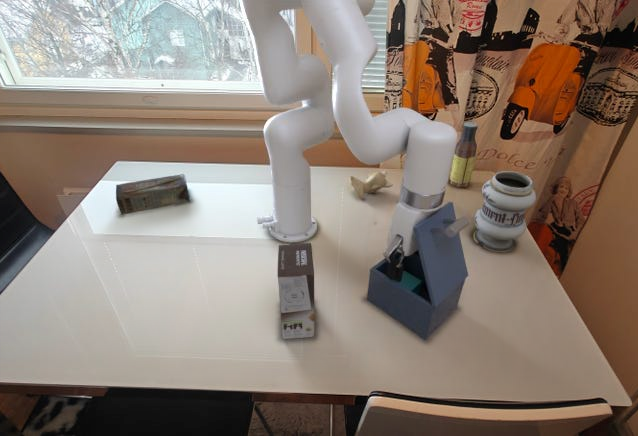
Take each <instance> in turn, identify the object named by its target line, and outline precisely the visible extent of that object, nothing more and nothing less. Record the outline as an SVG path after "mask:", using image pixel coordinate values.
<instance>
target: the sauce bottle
mask: <svg viewBox="0 0 638 436" xmlns="http://www.w3.org/2000/svg"><path fill="white" fill-rule="evenodd" d="M478 127H479V125H478V123H476V122H472V121H466V122H464V123H463V124H462V131H461V132H462V133H461V136H460V139H459V140H458V141H457V144H456V148H455V152H454V157H453V161H452V165H451V170H450V174H449V183H450V185H451V186H454V187H456V188H461V189H462V188H467V187H468V186H469V185H470V182H471V180H472V175H473V169H474V166H475V160H476V157H477V155H476V153H477V148H478V145H477V142H476V133H477V130H478V129H479V128H478Z"/></svg>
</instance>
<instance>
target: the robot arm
mask: <svg viewBox="0 0 638 436" xmlns="http://www.w3.org/2000/svg"><path fill="white" fill-rule="evenodd" d="M375 3H376V0H239V4H240V5H239V6H240V8H241V12H242V15H243V19H244V21H245V24H246V26H247V28H248V31H249V35H250V37H251V41H252V45H253V50H254V57H255V61H256V68H257V72H258V77H259V82H260V88H261V91H262V94H263V97H264V99H265V101H266V102H267V104H268V105H270V106H272V107H287V106H290V105H294V104H297V103H300V102H301V105H302V106H299V107H296V108H292V109H289V110H286V111H282V112H279V113H277V114H275V115H272V117H270V118H269V119H267V121H266V122H265V124H264V127H263V138H264V139H263V140H264V142H265V146H266V149H267V154H268V157H269V165H270V173H271V174H270V175H271V187H272V198H273V199H272V200H273V210H272V214H268V216H267V215H266V216H257V217H256V220H257V225H262V229H269V233H270V235H271V236H272V237H273V238H274V239H276V240H278V241H281V242H284V243H302V242H304V241H307V240H309V239H311V238H312V237H313V236H315V234H316V233H317V231H318V223H317V220H316V219H315V218H314V217H313V216H312V181H311V180H312V178H311V177H312V176H311V175H312V173H311V171H312V170H311V166H310V163H309V162H308V161H307V159H306V158H305V156H304V152H305V151H307V150H309V149H310V148H313V147H316V146H318V145H321V144H323V143H325V142H327V141H328V140H330V139H331V137H333V134H334V131H335V126H337V128H338V130H339V132H340V134H341V136H342V138H343V140H344V142H345V144H346V145H347V147H348V149H349V150H350V152H351V153H352V155H353V156H354V157H355V159H357V160H358V161H360V162H361V163H363V164H365V165H369V166H377V165H380V164H382V163H385V162H386V161H389V160H390V159H393V158H394V157H396V156H398V155H403V154H405V158H404V164H403V171H402V176H401V182H400V183H401V184H400V191H399V197H398V200H399V201H398V202H397V204H396V207H395V209H394V212H393V214H392V218H391V223H390V226H389V232H388V236H387V241H386V242H387V248H386V249H385V251H384V252H383V254H382V255H383V258H385V260H386V261H387V262H388V266H387V273H386V274H387V276H389V277H390V278H392V279H394V280H395V281H397V282H400V281H401V280H402V275H403V269H404V266H403V265H402V264H403V262H404V261H405V259H406V257H407V256H409V255H411V254H413V253H415V254H416V255H418V256H420V255H419V251H418V247H417V242H416V238H415V234H414V230H413V227H414V226H416V225H417V224H419V223H420V222H422V221H423V220H424V219H426V218H427V217H429V216H430V215H431V214H433V213H434V212H436V211H437V210H438V209H440V208H441V207H443V204H444V199H445V195H446V191H447V186H448V182H449V179H450V175H451V169H452V163H453V158H454V152H455V148H456V145H457V143H458V133H457V130H456V128H454V127H453V126H452V125H450V124H449V123H446V122H443V121H437V120H431V119H430V118H428V117H426V116H424V115H423V114H422V113H419V112H418V111H415V110H414V109H412V108H408V107H402V106H401V107H397V108H394V109H391V110H388V111H385V112H382V113H380V114H378V115H375V116H373V115H372V113H371V111H370V108H369V107H368V105H367V103H366V100H365V97H364V94H363V76H364V72H365V70H366V68H367V66H368V65H369V64H370V63H371V62H372V61H373V60H374V59H375V57H376V56H377V53H378V51H379V50H378V49H379V45H378V41H377V39H376V38H375V35H374V33H373V32H372V30H371V27H370V26H369V24H368V22H367V20H366V18H365V17H366V16H368V15H369V14H370V13H371V12H372V11H373V8H374V6H375ZM300 9H301V10H303V13H304V14H305V16H306V18H307V20H308V22H309V24H310V27H311V28H312V31H313V33H314V34H315V36H316V38H317V41H318V42H319V45H320V46H321V48H322V50H323V53H324V54H325V57H326V58H327V60H328V62H329V64H330V66H331V69H332V71H333V80H332V84H331V79H330V74H329V71H328V68H327V66H326V64H325V62H324V61H323V60H322V59H321V58H320V57H319V56H318V55H315V54H312V53H303V54H299V55H298V54H297V50H296V49H297V48H296V43H295V42H296V41H295V36H294V33H293V31H292V29H291V27H290V25H289V23H288V22H287V21H286V19H285V18H284V16H282V14H281V12H283V11H291V10H300ZM335 124H336V125H335ZM401 246H402V248H403V250H401V249H399V247H401ZM396 252H399V253H401V254H402V255H401V257H400V259H399V261H398V260H397V259H395V258H394V256H395V254H396Z"/></svg>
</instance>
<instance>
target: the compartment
mask: <svg viewBox="0 0 638 436" xmlns="http://www.w3.org/2000/svg"><path fill="white" fill-rule="evenodd" d="M399 249H401V250H403V248H402V245H401V246H400V247H399ZM401 255H402V254H401V253H399V252H396V254H395V256H394V258H395V259H397V260H398V261H399V259H400V257H401ZM402 265H403V266H404V269H403V271H406V272H407V273H409V274H411V275H413V276H414V277H416V278H418V279H419V280H421V281H422V284H421V289H420V294H419V296H418V295H417V294H415V293H413V292H412V291H410V290H409V289H407V288H405V287H404V286H402V285H400V284H399V283H397V282H396V281H394V280H393V279H392V278H390V277H389V276H387V274H386V273H387V266H388V262H387V261H386V260H385V257H383V258H382V260H380V261H379V262H377V263H376V264H375V265H374V266H372V267H371V268H369V273H368V274H369V275H368V284H367V295H366V301H367V302H369V303H371V304H372V305H374V307H377V308H378V309H379V310H381V311H382V312H383V313H385V314H387V315H388V316H389V317H391V318H392V319H394V320H395V321H396V322H398V323H399V324H401V325H403V326H404V327H405V328H407V329H408V330H410V331H411V332H412V333H414V334H416V336H418V337H420V338H422V339H423V340H424V341H427V340H429V338H430V337H431V336H432V335H433V334H434V333H435V332H436V331H437V330H438V329H439V327H441V325H442V324H443V323H445V321H446V320H447V319H448V318H449V317H450V316H451V315H452V314H453V313H454V312H455V311H456V310H458V309H457V308H458V305H459V301H460V299H461V295H462V292H463V289H464V285H465V282H466V279H467V278H465V279H464V280H463V281H462V282H461V283H460V284H459V285H458V286H457V287H456V288H455V289H454V290H453V291H452V292H451V293H450V294H449V295H448V296H447V297H446V298H445V299H444V300H443V301H442V302H441V303H440V304H439V305H438V306H437V307H433V306H432V303H431V299H430V295H429V291H428V287H427V283H426V279H425V275H424V271H423V267H422V263H421V259H420V256H418V255H416V254H415V253H413V254H411V255H409V256H407V257H406V259H405V261H404V262H403V264H402Z"/></svg>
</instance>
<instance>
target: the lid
mask: <svg viewBox="0 0 638 436" xmlns="http://www.w3.org/2000/svg"><path fill="white" fill-rule="evenodd" d="M469 225H470V219H469V217H468V216H465V215H462V216H461V215H460V217H459V218H457V216H456V211H455V206H454V202H453V201H448V202H447V203H445V204H444V205H442V206H441V208H440V209H438V210H437V211H436V212H434V213H433V214H431V215H430V216H429V217H427V218H426V219H424V220H423V221H422V222H420V223H419V224H417V225H416V226H414V227H413V230H414V234H415V238H416V242H417V247H418V251H419V255H420V259H421V263H422V267H423V271H424V275H425V279H426V283H427V287H428V291H429V295H430V299H431V303H432V306H433V307H437V306H438V305H439V304H440V303H441V302H442V301H443V300H444V299H445V298H446V297H447V296H448V295H449V294H450V293H451V292H452V291H453V290H454V289H455V288H456V287H457V286H458V285H459V284H460V283H461V282H462V281H463V280H464V279H465V278H466V279H467V278H468V277H469V271H468V267H467V262H466V258H465V254H464V248H463V245H462V240H461V239H462V238H461V235H460V233H461V231H463V230H464V229H465V228H467V226H469ZM466 279H465V280H466Z"/></svg>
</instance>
